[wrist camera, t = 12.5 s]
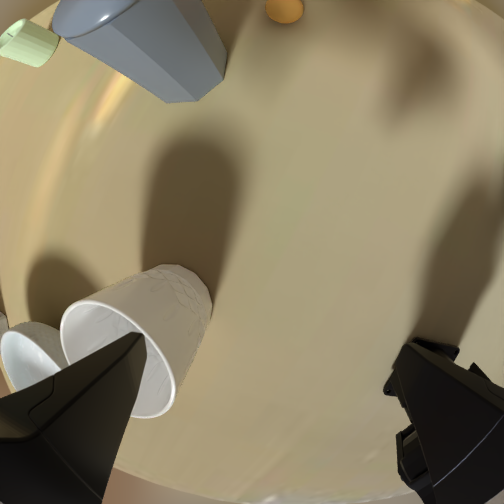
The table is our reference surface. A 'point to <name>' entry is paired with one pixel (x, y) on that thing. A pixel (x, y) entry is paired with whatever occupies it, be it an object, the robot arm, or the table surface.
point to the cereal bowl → (31, 353)
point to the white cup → (145, 328)
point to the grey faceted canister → (149, 42)
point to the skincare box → (3, 326)
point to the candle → (28, 43)
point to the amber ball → (284, 10)
